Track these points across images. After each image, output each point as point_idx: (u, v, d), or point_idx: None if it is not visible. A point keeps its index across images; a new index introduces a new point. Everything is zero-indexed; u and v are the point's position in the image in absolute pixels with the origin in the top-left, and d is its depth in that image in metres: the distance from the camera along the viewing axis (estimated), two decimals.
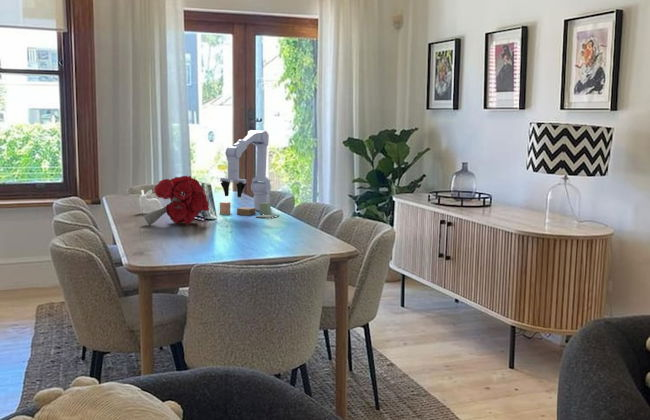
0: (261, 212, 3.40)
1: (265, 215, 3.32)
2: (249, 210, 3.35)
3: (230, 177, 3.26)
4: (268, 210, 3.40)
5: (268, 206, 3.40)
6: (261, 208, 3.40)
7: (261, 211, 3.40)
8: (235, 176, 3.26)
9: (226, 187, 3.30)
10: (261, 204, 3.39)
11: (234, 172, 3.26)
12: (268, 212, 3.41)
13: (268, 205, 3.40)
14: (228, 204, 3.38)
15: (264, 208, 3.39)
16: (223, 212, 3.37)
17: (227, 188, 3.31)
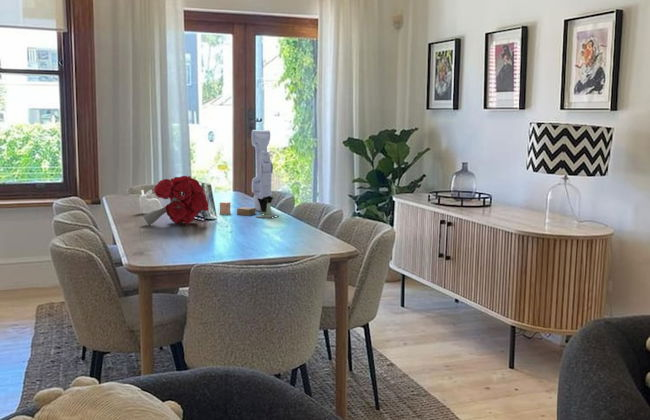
0: (261, 212, 3.40)
1: (265, 215, 3.32)
2: (249, 210, 3.35)
3: None
4: (268, 210, 3.40)
5: (268, 206, 3.40)
6: None
7: (261, 211, 3.40)
8: (261, 191, 3.38)
9: None
10: None
11: (260, 187, 3.38)
12: (268, 212, 3.41)
13: (268, 205, 3.40)
14: (228, 204, 3.38)
15: None
16: (223, 212, 3.37)
17: None
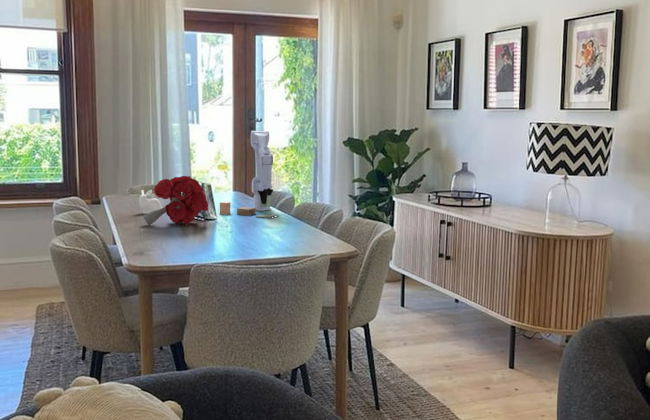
0: (261, 204, 3.40)
1: (265, 215, 3.32)
2: (249, 210, 3.35)
3: None
4: (268, 202, 3.40)
5: (268, 198, 3.39)
6: None
7: (261, 203, 3.39)
8: (261, 183, 3.37)
9: None
10: None
11: (261, 179, 3.38)
12: (268, 204, 3.40)
13: (268, 197, 3.39)
14: (228, 204, 3.38)
15: None
16: (223, 212, 3.37)
17: None
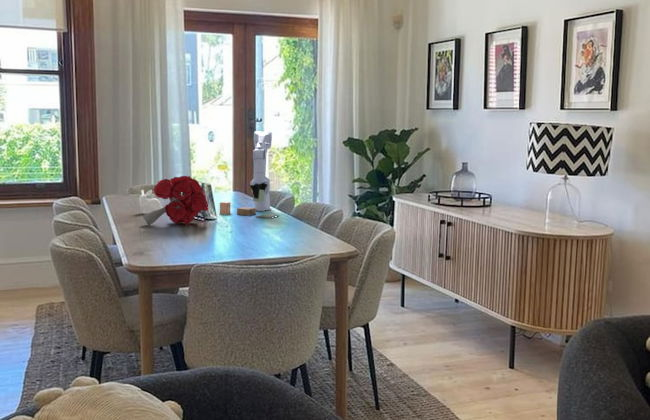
0: (254, 199, 3.39)
1: (265, 215, 3.32)
2: (249, 210, 3.35)
3: None
4: (261, 197, 3.38)
5: (261, 193, 3.38)
6: None
7: (254, 198, 3.39)
8: (254, 177, 3.37)
9: (260, 188, 3.41)
10: None
11: None
12: (261, 199, 3.39)
13: (261, 192, 3.38)
14: (228, 204, 3.38)
15: None
16: (223, 212, 3.37)
17: None
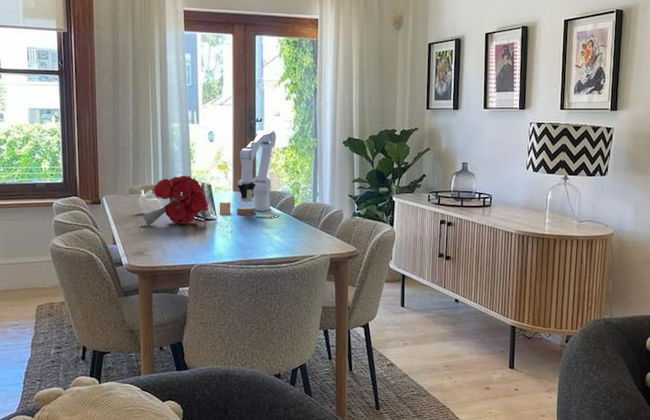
0: (242, 199, 3.37)
1: (265, 215, 3.32)
2: (249, 210, 3.35)
3: None
4: (249, 197, 3.37)
5: (249, 193, 3.37)
6: None
7: (242, 198, 3.37)
8: (242, 177, 3.35)
9: (248, 188, 3.40)
10: None
11: (241, 173, 3.35)
12: (249, 198, 3.37)
13: (249, 192, 3.36)
14: (228, 204, 3.38)
15: None
16: (223, 212, 3.37)
17: None
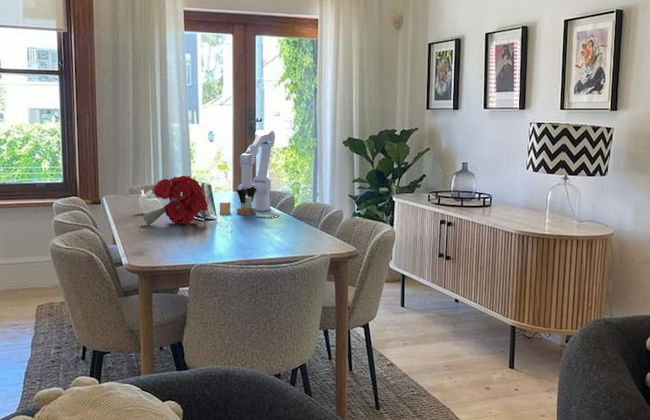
0: (242, 206, 3.38)
1: (265, 215, 3.32)
2: (249, 210, 3.35)
3: None
4: (249, 204, 3.38)
5: (249, 200, 3.37)
6: None
7: (242, 205, 3.38)
8: (241, 182, 3.36)
9: (249, 193, 3.41)
10: None
11: (241, 178, 3.36)
12: (249, 206, 3.38)
13: (249, 199, 3.37)
14: (228, 204, 3.38)
15: None
16: (223, 212, 3.37)
17: (251, 194, 3.41)
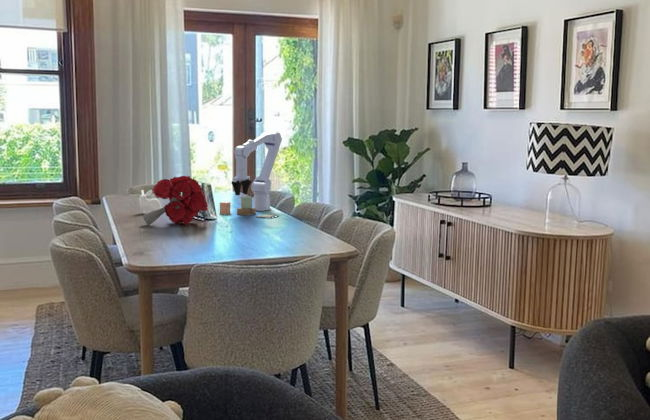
0: (242, 206, 3.38)
1: (265, 215, 3.32)
2: (249, 210, 3.35)
3: None
4: (249, 204, 3.37)
5: (249, 200, 3.37)
6: (242, 202, 3.38)
7: (242, 205, 3.38)
8: (236, 174, 3.39)
9: (244, 185, 3.45)
10: (242, 198, 3.37)
11: (236, 170, 3.39)
12: (249, 205, 3.38)
13: (249, 199, 3.37)
14: (228, 204, 3.38)
15: (245, 202, 3.37)
16: (223, 212, 3.37)
17: (245, 186, 3.45)
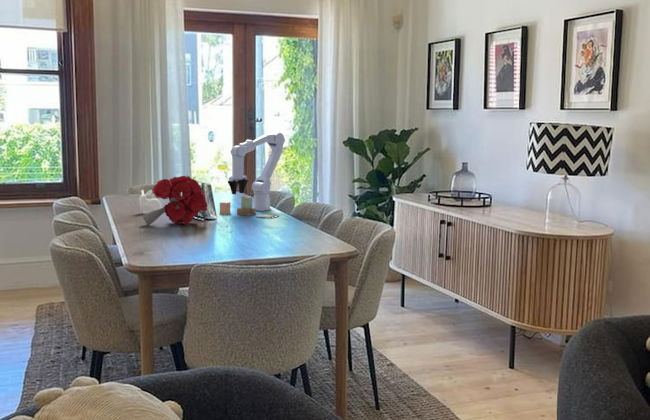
0: (242, 206, 3.38)
1: (265, 215, 3.32)
2: (249, 210, 3.35)
3: None
4: (249, 204, 3.38)
5: (249, 200, 3.37)
6: (242, 202, 3.38)
7: (242, 205, 3.38)
8: (233, 174, 3.42)
9: (240, 184, 3.48)
10: (242, 197, 3.38)
11: None
12: (249, 206, 3.38)
13: (249, 199, 3.37)
14: (228, 204, 3.38)
15: (245, 202, 3.37)
16: (223, 212, 3.37)
17: (242, 185, 3.48)
